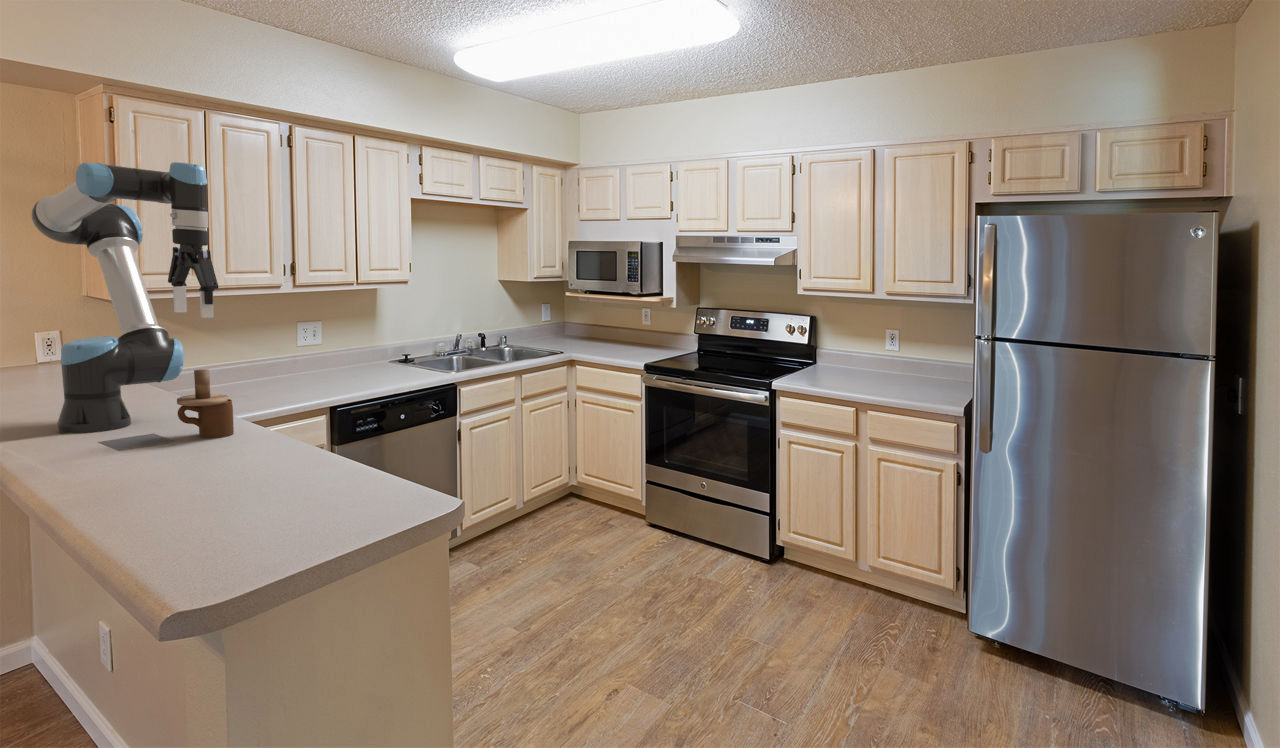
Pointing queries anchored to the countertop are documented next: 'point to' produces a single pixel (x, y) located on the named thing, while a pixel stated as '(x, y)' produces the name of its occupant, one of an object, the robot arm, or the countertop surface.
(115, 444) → the mat
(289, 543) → the countertop surface
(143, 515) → the countertop surface
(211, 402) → the lid
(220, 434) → the mug
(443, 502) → the countertop surface
